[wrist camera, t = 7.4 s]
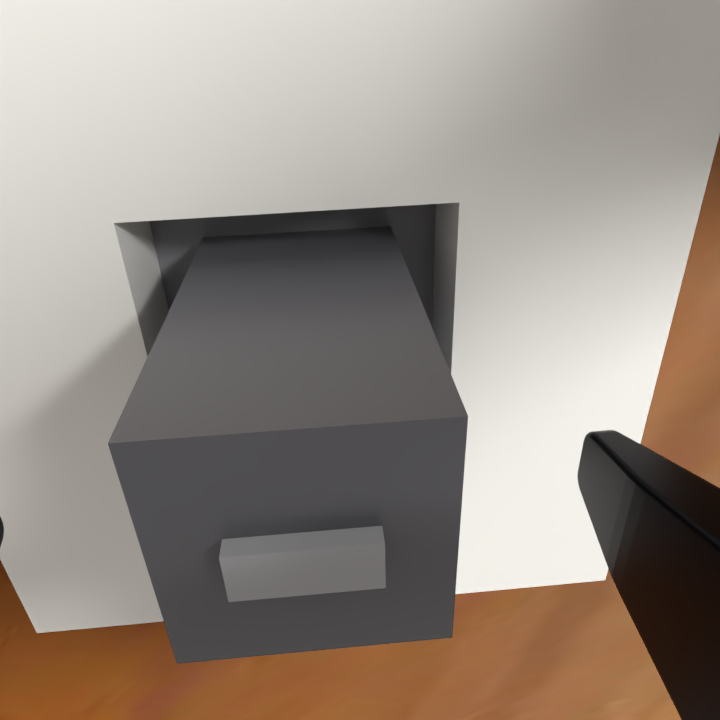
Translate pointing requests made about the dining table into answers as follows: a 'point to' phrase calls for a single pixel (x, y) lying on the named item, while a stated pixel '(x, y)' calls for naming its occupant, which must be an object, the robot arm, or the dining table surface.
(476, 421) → the outlet plate
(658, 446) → the dining table surface
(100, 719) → the dining table surface
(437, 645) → the dining table surface
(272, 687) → the dining table surface
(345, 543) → the grey square peg
